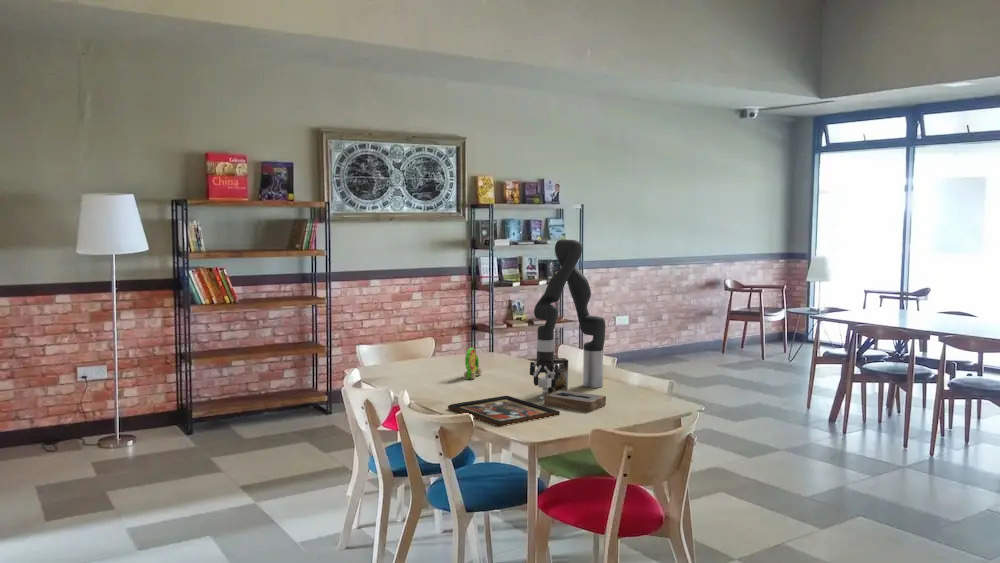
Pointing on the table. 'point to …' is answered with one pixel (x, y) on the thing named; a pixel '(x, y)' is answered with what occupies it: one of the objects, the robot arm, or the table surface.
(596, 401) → the keyhole box
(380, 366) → the table surface
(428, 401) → the table surface
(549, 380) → the keyhole stud
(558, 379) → the coffee box
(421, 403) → the table surface
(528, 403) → the framed painting
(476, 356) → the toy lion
